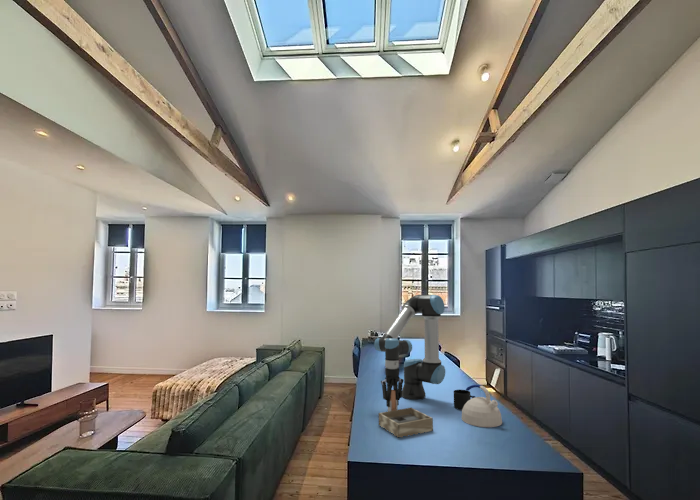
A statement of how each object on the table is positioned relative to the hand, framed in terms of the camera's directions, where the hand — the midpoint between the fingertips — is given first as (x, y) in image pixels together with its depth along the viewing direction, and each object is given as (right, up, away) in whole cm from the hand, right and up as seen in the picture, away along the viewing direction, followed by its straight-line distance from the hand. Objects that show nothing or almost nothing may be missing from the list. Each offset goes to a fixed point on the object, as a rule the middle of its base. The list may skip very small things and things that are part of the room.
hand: (392, 412), depth 205 cm
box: (+4, -1, -16) cm, 16 cm away
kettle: (+46, -2, -5) cm, 47 cm away
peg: (0, -3, 0) cm, 3 cm away
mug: (+43, -4, +16) cm, 46 cm away
